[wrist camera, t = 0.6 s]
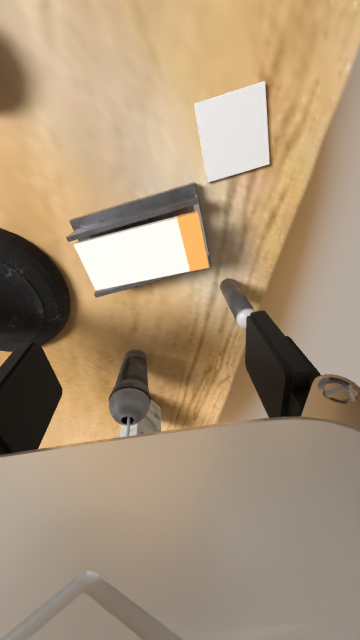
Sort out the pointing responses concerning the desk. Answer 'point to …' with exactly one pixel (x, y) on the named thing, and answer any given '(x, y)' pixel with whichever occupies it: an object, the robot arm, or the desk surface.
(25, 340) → the banker's lamp
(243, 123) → the mat
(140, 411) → the beverage cup
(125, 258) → the tilting box lid
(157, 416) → the ink box
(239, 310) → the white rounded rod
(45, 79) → the desk surface
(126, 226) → the tilting lid box
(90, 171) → the desk surface
